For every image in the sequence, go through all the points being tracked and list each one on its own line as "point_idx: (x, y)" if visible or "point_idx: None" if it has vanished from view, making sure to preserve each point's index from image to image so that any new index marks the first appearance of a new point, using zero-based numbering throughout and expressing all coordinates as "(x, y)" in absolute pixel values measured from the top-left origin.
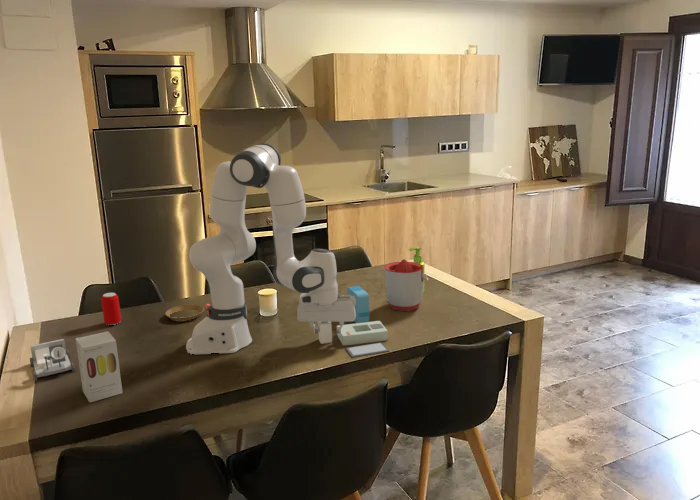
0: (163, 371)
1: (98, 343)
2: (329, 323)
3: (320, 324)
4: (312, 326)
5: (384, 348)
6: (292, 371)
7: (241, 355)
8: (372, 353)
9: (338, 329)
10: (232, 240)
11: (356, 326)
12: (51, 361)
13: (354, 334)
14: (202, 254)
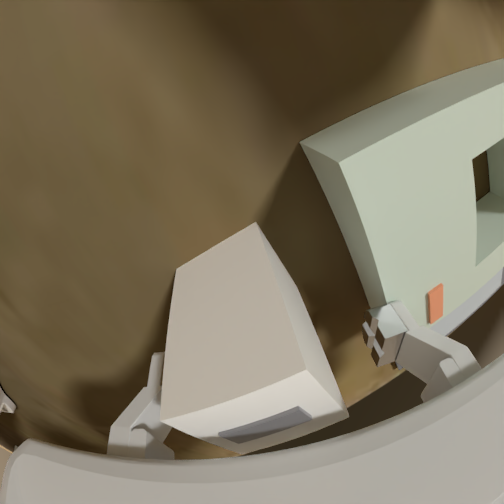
0: (18, 437)
1: None
2: (330, 423)
3: (243, 451)
4: (161, 431)
5: (499, 278)
6: (227, 452)
7: (39, 414)
8: (461, 321)
9: (389, 357)
10: None
11: (486, 143)
12: None
13: (460, 301)
14: None
